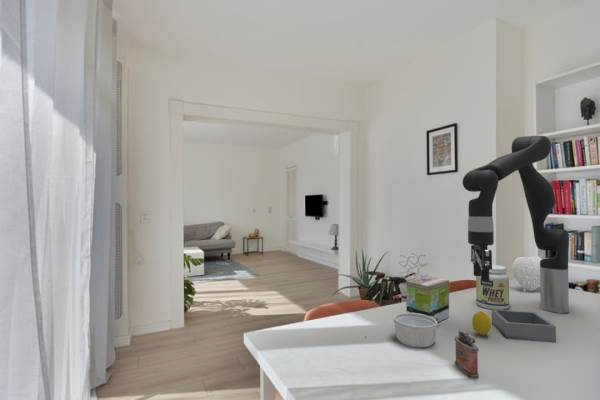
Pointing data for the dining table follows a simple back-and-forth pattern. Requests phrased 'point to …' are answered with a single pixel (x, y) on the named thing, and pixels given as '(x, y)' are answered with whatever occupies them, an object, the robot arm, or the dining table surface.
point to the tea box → (428, 297)
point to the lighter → (466, 354)
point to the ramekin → (415, 329)
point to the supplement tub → (493, 289)
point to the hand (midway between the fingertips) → (481, 278)
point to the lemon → (481, 323)
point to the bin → (523, 325)
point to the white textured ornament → (527, 272)
